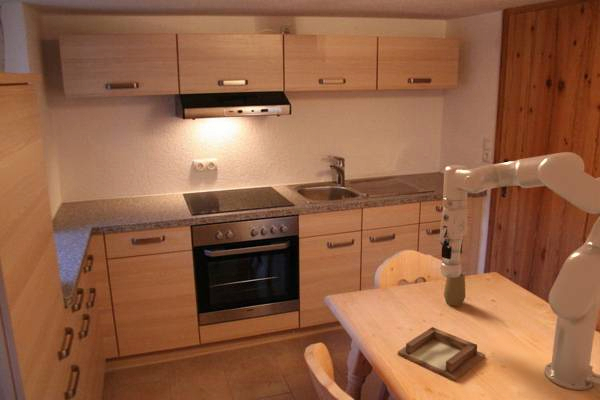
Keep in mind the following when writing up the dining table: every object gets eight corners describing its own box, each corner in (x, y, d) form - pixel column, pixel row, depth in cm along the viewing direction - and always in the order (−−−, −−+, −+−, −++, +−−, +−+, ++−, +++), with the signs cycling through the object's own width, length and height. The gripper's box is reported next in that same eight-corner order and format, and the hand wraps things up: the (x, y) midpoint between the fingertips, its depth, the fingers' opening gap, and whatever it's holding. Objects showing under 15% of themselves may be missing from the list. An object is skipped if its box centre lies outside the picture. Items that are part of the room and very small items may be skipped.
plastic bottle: (461, 280, 163) (465, 222, 158) (440, 279, 164) (443, 221, 160) (459, 273, 169) (463, 217, 164) (439, 272, 170) (442, 216, 166)
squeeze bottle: (467, 302, 192) (470, 258, 187) (461, 310, 185) (465, 265, 181) (446, 297, 196) (449, 254, 191) (440, 305, 189) (443, 261, 185)
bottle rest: (484, 357, 154) (485, 345, 153) (455, 381, 142) (455, 368, 141) (428, 334, 168) (429, 323, 167) (397, 354, 156) (398, 342, 155)
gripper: (451, 210, 152) (447, 265, 156) (478, 200, 164) (474, 251, 168) (429, 206, 158) (427, 259, 162) (457, 197, 169) (455, 246, 173)
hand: (451, 255), depth 165 cm, fingers closed on plastic bottle, 6 cm apart
